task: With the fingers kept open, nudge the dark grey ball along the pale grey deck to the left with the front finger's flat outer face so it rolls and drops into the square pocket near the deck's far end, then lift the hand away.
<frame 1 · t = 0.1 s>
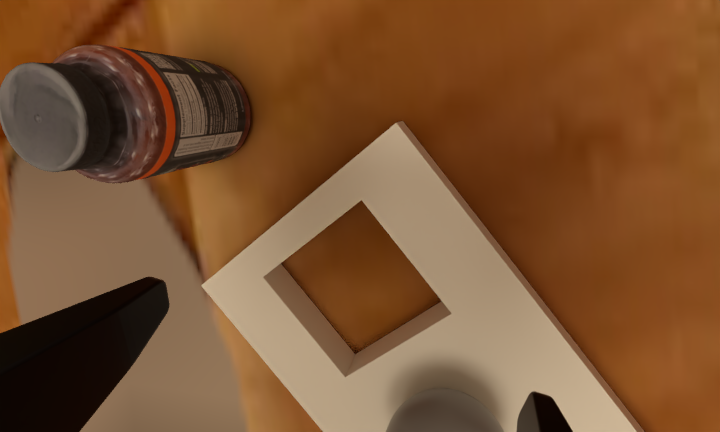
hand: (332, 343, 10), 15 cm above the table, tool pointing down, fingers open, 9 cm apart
deck: (420, 349, 26), on the table
supplement bottle: (213, 112, 26), on the table
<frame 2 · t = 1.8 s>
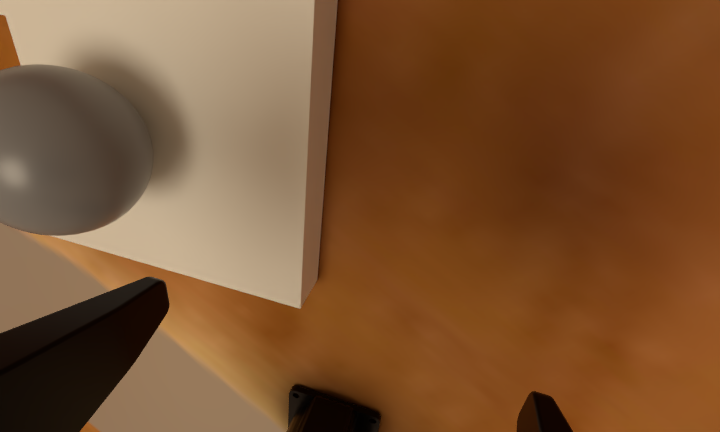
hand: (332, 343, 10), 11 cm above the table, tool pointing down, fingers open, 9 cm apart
ball: (60, 152, 16), point 6 cm above the table, touching deck
deck: (109, 102, 21), on the table
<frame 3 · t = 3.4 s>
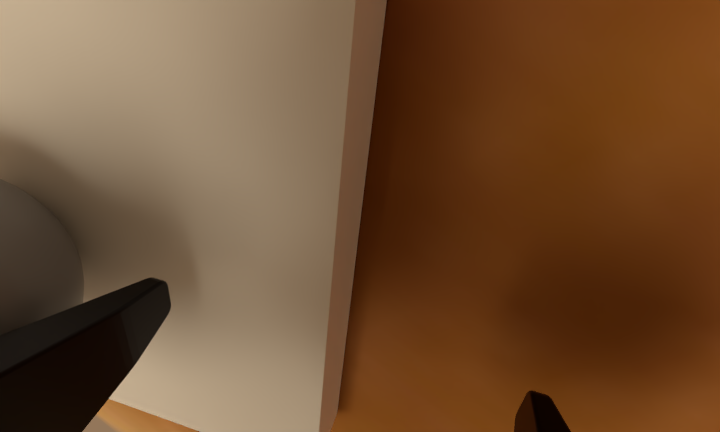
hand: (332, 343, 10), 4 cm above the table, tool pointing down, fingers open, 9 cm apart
deck: (39, 175, 15), on the table
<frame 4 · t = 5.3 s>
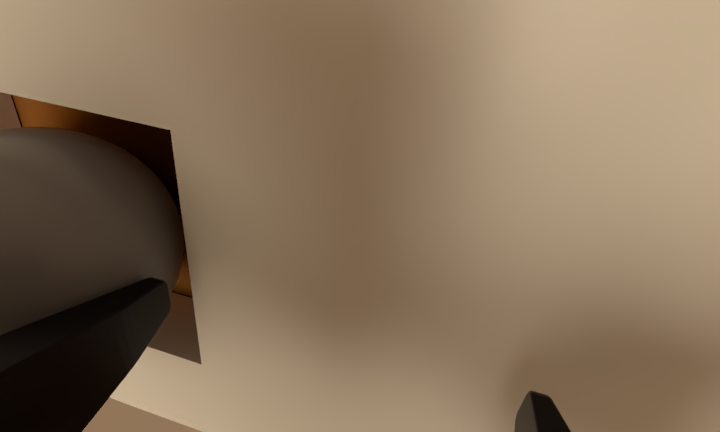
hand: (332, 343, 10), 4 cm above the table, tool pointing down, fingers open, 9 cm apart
ball: (55, 247, 11), point 3 cm above the table, tilted 75°, touching gripper
deck: (292, 238, 13), on the table
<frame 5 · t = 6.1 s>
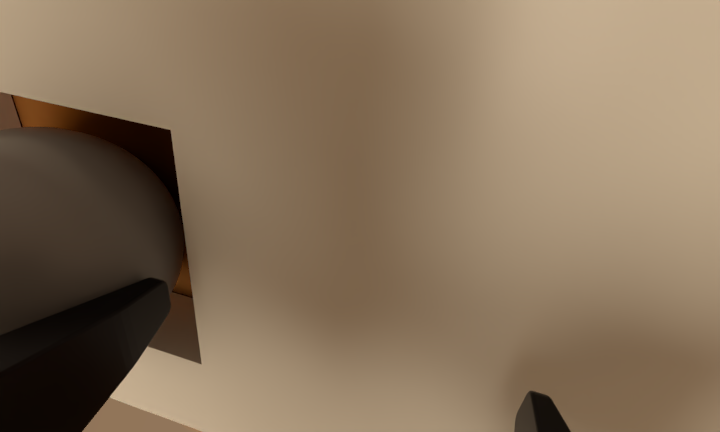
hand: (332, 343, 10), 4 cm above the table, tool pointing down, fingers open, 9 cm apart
ball: (55, 247, 11), point 3 cm above the table, tilted 75°, touching gripper
deck: (293, 238, 13), on the table
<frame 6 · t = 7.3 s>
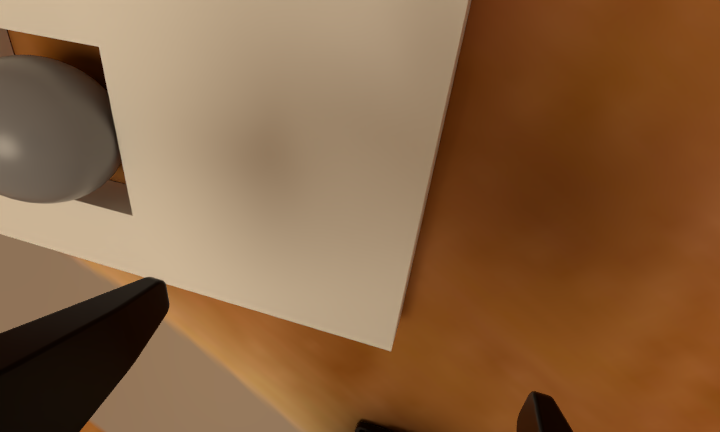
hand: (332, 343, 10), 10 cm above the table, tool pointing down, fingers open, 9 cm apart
ball: (43, 131, 19), point 3 cm above the table, tilted 69°
deck: (190, 132, 20), on the table
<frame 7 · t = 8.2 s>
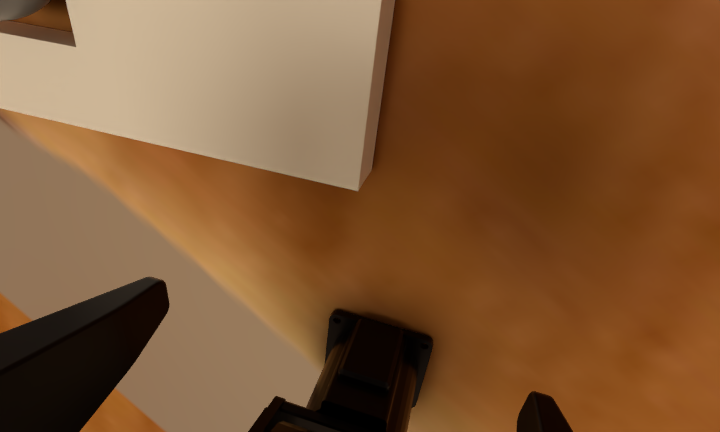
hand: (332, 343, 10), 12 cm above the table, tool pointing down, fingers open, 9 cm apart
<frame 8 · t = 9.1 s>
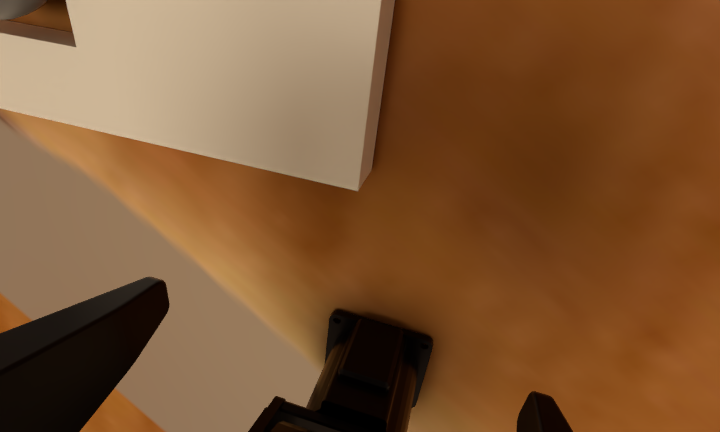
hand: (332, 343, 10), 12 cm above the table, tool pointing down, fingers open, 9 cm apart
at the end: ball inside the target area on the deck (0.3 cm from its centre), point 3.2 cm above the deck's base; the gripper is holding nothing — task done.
